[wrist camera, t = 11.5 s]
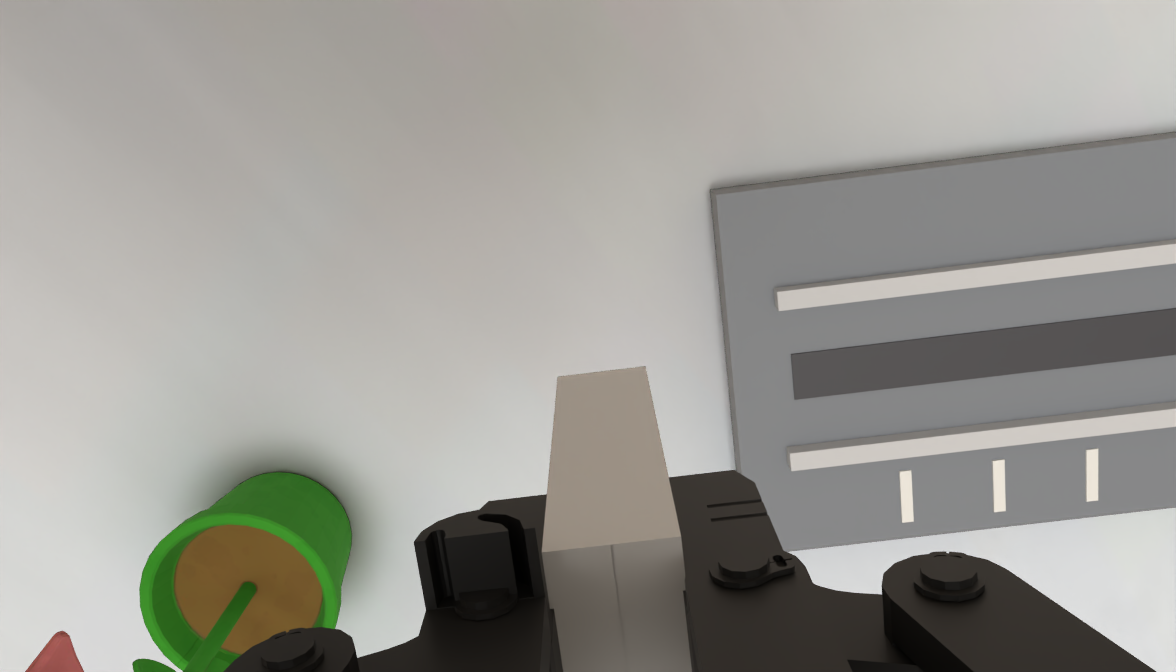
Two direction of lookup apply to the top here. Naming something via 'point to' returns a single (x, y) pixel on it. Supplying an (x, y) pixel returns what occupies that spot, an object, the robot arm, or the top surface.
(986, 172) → the console
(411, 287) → the top surface
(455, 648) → the robot arm
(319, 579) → the potted flower
